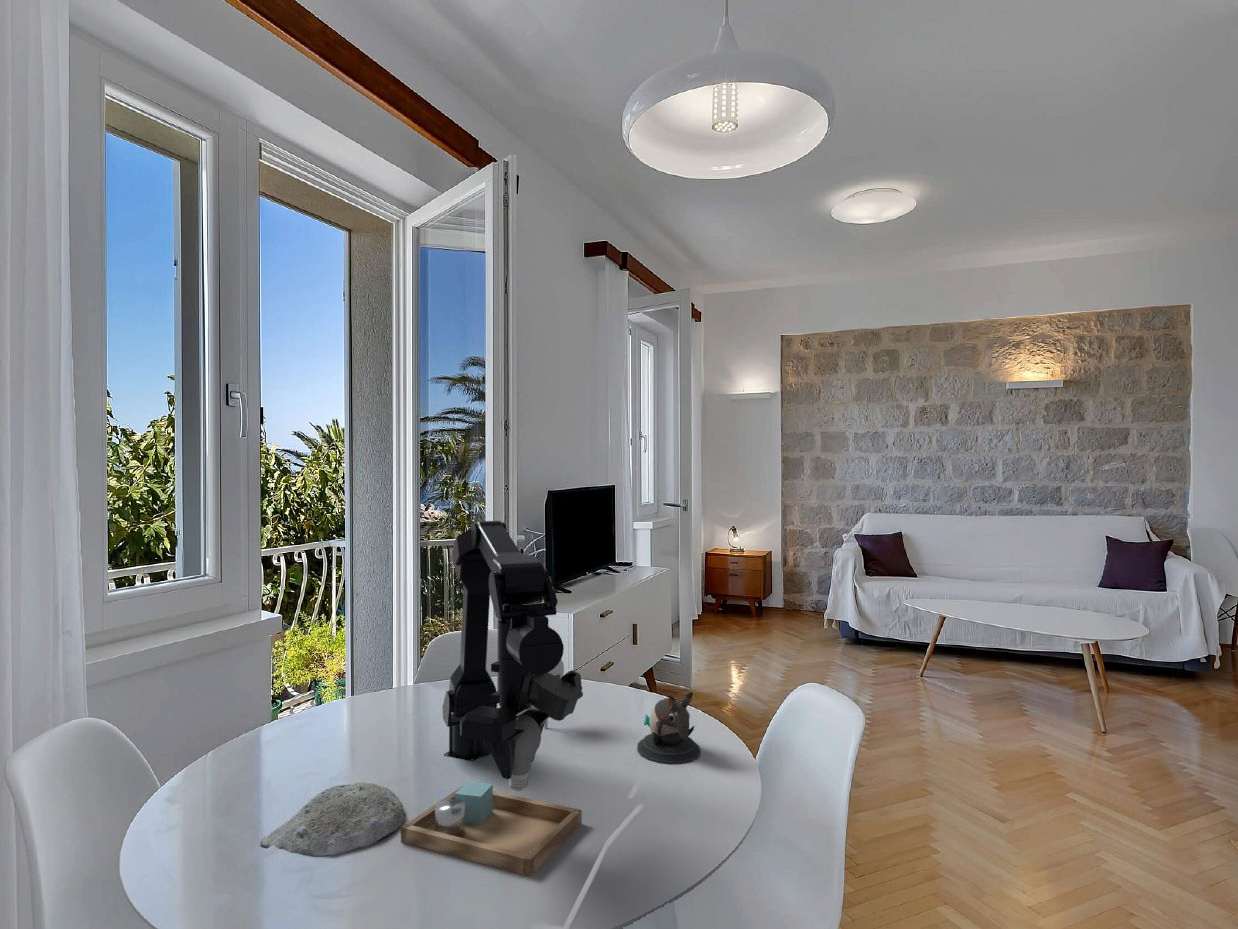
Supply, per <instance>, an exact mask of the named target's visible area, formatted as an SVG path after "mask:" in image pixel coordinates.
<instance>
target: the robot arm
mask: <svg viewBox="0 0 1238 929" xmlns="http://www.w3.org/2000/svg"><path fill="white" fill-rule="evenodd" d="M507 529H508V528H507V525H506V523H505V521H504V522H503V521H500V520H478V521H477V522H473V523H472V525H471V527H470V528H469V529H467V530H465V531H463V532H461V533H460V534H458V535H457V536H456V537H455V539H454V542H453V545H452V548H451V560H452V565H453V566H454V570H455V572H456V574H457V576H458V577H459V579H460V582H461V583H462V585H463V593H462V594H463V595H462V613H461V615H462V616H461V632H460V633H461V634H460V636H461V638H460V656H459V657H460V658H459V660H460V661H459V665H458V666H457V667H456V668H455V670H454V672H453V673H452V674H451V676H450V677H449V687H448V688H449V689H448V690H446V692H445V695H444V698H443V704H442V720H443V721H444V723H445V725H446V727H447V728H448V729H449V730H448V743H449V744H448V751H447V752H445V753H444V754H443V756H444V757H448V758H454V759H458V760H463V761H467V762H468V761H469V762H474V761H476V760H478V759H480V758H485V757H486V756H487V755H489V754H491V756H492V758H493V760H494V762H495V764H496V767H497V768H498V771H499V772H500V775H501V776H502V779H506V780H509V779H510V778H511V776H512V770H513V761H514V751H515V741H516V740H517V739H518V738H519V737H520V736H521V735H522V734H523V732H524V730H520V729H517V720H518V716H519V715H520V714H525V715H528V716H530V717H532V718H533V719H534V720H535V721H536V722H537V724H538V726H539V728H540V730H541V734H542V732H543V730H544V724H545V722H546V720H547V719H548V720H549V719H552V720H554V721H563V720H564V719H565V718H566V717H567V716H569V715H571V714H573V713H574V711H575V708H576V705H577V702H578V700H580V699H582V698H583V695H584V693H583V687H582V677H581V674H580V673H579V672H577V671H575V670H569V671H567V672H566V673H565V674H563V677H562V678H560V675H559V674H558V675H556V676H554V675H552V674H550V673H548V672H549V671H551V670H553V669H554V668H555V667H556V666H557V665H558V664H559V662H560V660H562V659H563V656H564V650H565V649H564V643H563V640H562V637H561V635H560V634H559V633H558V632H557V631H556V630H555V629H553V628H551V627H550V626H549V617H547V616H556V615H557V605H558V603H559V602H558V598H557V595H556V594H557V593H556V590H555V588H554V585H553V581H552V577H551V576H550V574H549V571H548V569H547V568H546V567H545V565H544V564H543V562H541V561H540V559H538V558H537V557H536V556H532V555H529V554H524V553H522V552H521V550H520V549H519V548H518V546H517V544H516V543H515V541H514V540H513V539H512V537H511V536H510V534H509V533H508V531H507ZM490 601H491V602H492V606H493V610H494V613H495V617H496V618H497V661H494V662H493V663H492V662H491V664H490V672H491V673H492V672H493V673H497V681H496V682H497V688H496V685H495V683H494V680H493V678H492V677H491V675H490V672H489V671H488V669H487V656H488V640H489V639H488V637H489V636H488V635H489V621H490V620H489V617H490ZM498 705H499V707H498ZM536 754H537V752H536V753H535V755H534V757H533V759H532V762H531V764H532V763H533V762H534V760H535V757H536Z"/></svg>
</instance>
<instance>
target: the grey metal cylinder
mask: <svg viewBox="0 0 1238 929" xmlns="http://www.w3.org/2000/svg"><path fill="white" fill-rule="evenodd" d="M440 801H441V800H440ZM438 802H439V801H438ZM438 802H436V803H437V804H436V803H435V804H436V806H435V831H437V832H441V833H445V834H448V835H452V836H456V837H460V838H463V837H464V835H465V802H464V801H462V800H460V799H447V800H443V801H441V802H439V803H438Z"/></svg>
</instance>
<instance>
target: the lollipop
mask: <svg viewBox="0 0 1238 929" xmlns="http://www.w3.org/2000/svg"><path fill="white" fill-rule="evenodd" d="M564 672H565V664H564V662H563V659H561V660H560V662H559V664H558V665H557V666H556V667H555V668H554V669H553V670H551V671H549V672H548V673H550V674H552V675H554V676H556V675H558V674H559V675H560V678H562V677H563V676H564V675H565V674H564ZM548 720H549V718H548V719H547V720H546V722H545V724H544V727H543V729H547V730H548Z"/></svg>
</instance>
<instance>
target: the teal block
mask: <svg viewBox="0 0 1238 929" xmlns="http://www.w3.org/2000/svg"><path fill="white" fill-rule="evenodd" d="M493 786H494V784H492V783H485V782H475V781H474V782H473V781H466V782H465V783H464V784H463V785H461V786H460V787H461V788H460V787H459V788H460V789H459V788H458V789H459V790H458V791H457V792H456V793H455V799H460V800H462V801H464V802H465V824H473V825H482V824H483V822H484V821H485V820H486V819H487V818H488V817H489V816H490V815H491V813H492V812H493V791H494V790H493V788H494V787H493Z"/></svg>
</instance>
